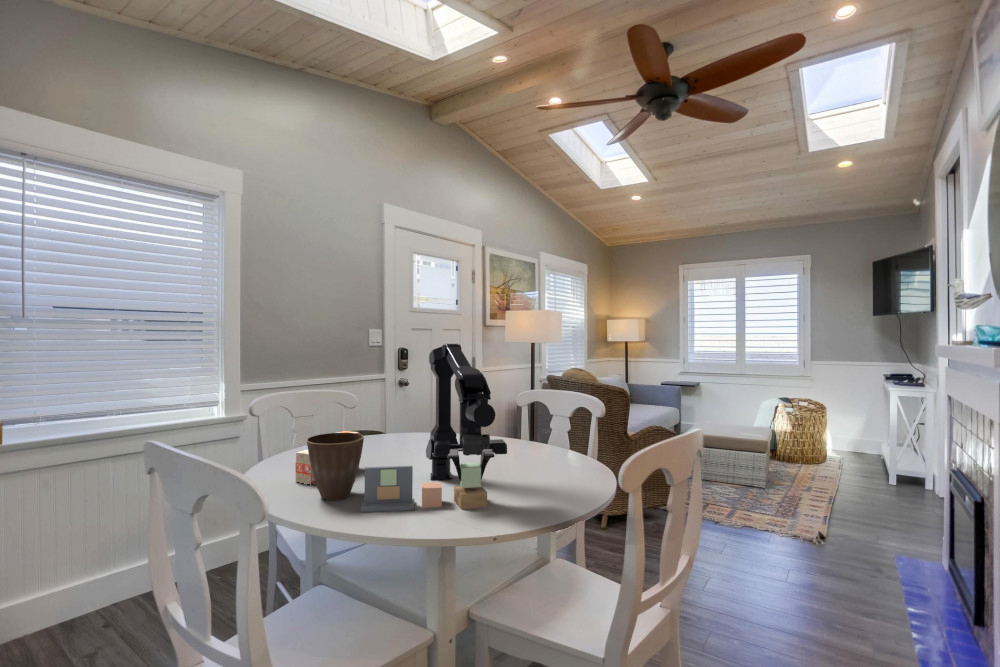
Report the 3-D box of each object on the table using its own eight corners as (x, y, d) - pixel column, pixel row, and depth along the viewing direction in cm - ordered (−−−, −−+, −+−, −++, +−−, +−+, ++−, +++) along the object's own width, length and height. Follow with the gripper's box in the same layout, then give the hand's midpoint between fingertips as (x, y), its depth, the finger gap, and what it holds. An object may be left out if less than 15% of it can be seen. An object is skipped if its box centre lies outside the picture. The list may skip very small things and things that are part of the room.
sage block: (460, 482, 135) (460, 463, 135) (479, 481, 136) (479, 462, 136) (461, 487, 130) (461, 468, 130) (480, 487, 131) (481, 467, 131)
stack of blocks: (311, 486, 148) (311, 443, 149) (295, 483, 151) (295, 442, 151) (359, 468, 168) (359, 431, 168) (344, 466, 171) (344, 430, 171)
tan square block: (454, 501, 135) (454, 486, 135) (479, 499, 137) (479, 484, 137) (460, 510, 128) (460, 494, 128) (487, 507, 131) (487, 491, 131)
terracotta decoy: (422, 501, 134) (422, 482, 134) (441, 500, 135) (441, 482, 135) (421, 508, 129) (422, 488, 130) (441, 507, 130) (441, 487, 130)
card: (363, 504, 132) (363, 465, 132) (414, 502, 134) (414, 464, 134) (360, 512, 126) (360, 471, 126) (413, 509, 128) (413, 470, 128)
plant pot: (369, 500, 135) (369, 440, 135) (309, 508, 129) (309, 445, 129) (358, 485, 149) (358, 430, 149) (303, 492, 142) (304, 435, 142)
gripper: (434, 427, 124) (434, 491, 123) (510, 425, 126) (510, 488, 126) (434, 419, 135) (434, 478, 135) (504, 418, 137) (503, 476, 137)
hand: (470, 480), depth 133 cm, fingers closed on sage block, 5 cm apart
